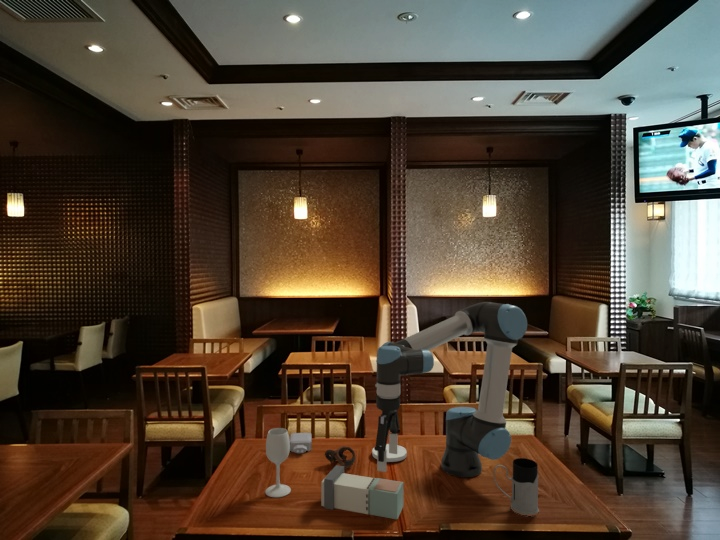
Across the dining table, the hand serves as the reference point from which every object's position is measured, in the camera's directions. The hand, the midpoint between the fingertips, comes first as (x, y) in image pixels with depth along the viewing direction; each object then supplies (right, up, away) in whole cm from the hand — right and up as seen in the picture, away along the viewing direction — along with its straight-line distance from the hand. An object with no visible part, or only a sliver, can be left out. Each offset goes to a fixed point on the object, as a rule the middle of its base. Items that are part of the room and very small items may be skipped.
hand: (387, 461), depth 150 cm
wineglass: (-37, -16, +13) cm, 42 cm away
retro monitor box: (0, -16, +1) cm, 16 cm away
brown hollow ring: (-17, -15, +33) cm, 40 cm away
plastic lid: (+3, -15, +42) cm, 45 cm away
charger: (-34, -15, +48) cm, 60 cm away
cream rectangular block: (-13, -16, +5) cm, 21 cm away
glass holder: (+42, -16, +2) cm, 45 cm away
